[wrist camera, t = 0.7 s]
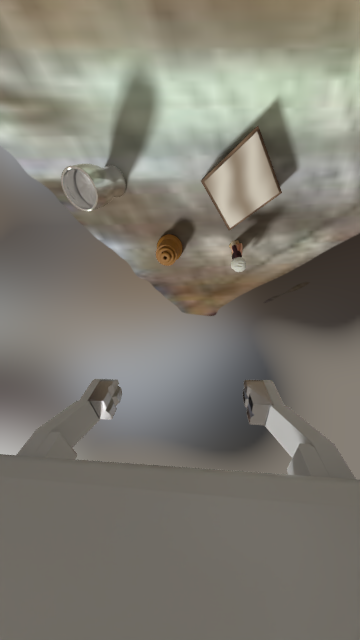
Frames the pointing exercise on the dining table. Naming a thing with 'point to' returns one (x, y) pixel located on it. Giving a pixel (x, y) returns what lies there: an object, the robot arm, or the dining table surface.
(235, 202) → the plinth
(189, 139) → the dining table surface
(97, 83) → the dining table surface
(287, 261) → the dining table surface
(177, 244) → the ornamental finial
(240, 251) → the grandmother figurine
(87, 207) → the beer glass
